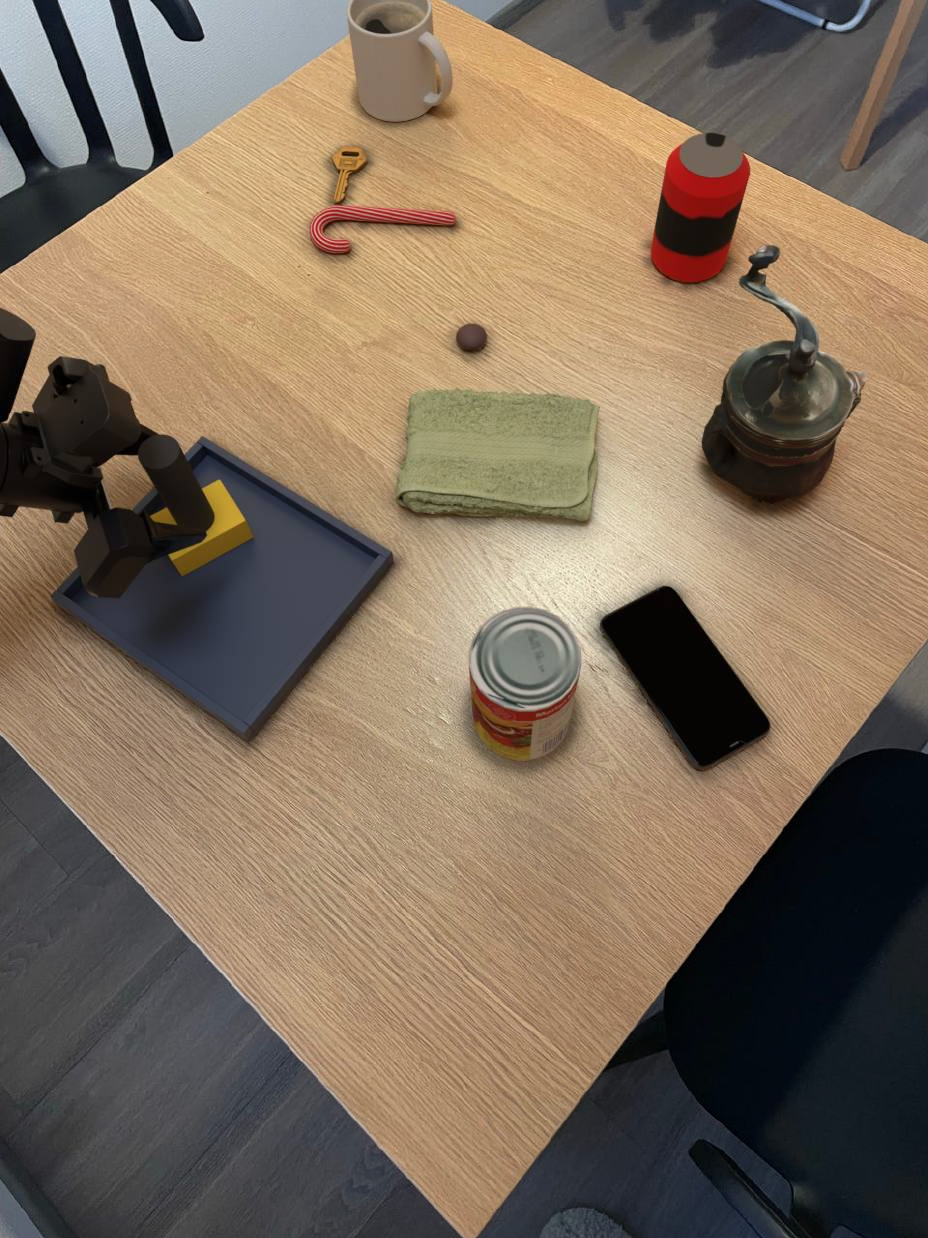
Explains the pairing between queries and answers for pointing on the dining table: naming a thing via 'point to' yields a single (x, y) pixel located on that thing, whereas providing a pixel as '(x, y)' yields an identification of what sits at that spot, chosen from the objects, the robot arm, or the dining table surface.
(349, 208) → the candy cane
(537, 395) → the washcloth
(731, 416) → the coffee grinder
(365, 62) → the mug
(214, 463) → the tray
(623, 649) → the smartphone
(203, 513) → the sponge wand
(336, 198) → the key
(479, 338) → the chocolate truffle
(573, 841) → the dining table surface
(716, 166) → the soda can
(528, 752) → the canned food
